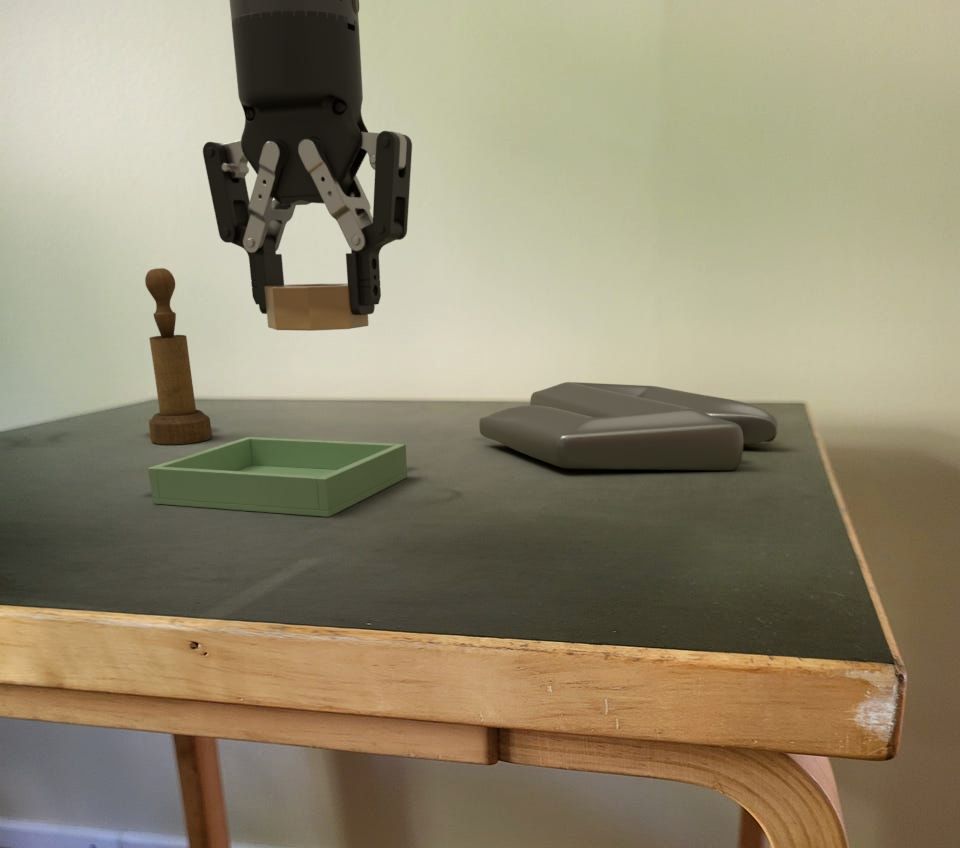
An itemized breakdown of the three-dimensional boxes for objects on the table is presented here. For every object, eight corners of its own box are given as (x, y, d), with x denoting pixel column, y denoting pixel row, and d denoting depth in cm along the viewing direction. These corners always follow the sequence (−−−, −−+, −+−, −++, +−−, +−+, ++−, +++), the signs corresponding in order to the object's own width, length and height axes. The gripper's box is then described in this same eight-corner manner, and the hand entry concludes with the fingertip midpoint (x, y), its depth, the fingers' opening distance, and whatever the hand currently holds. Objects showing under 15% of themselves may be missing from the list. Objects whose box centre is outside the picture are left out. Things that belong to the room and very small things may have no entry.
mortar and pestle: (170, 447, 105) (144, 269, 98) (140, 441, 109) (113, 269, 102) (223, 438, 109) (202, 267, 102) (192, 432, 113) (170, 267, 106)
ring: (252, 329, 63) (248, 287, 62) (302, 323, 68) (299, 283, 67) (336, 331, 61) (333, 287, 60) (381, 324, 66) (379, 283, 65)
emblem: (426, 405, 92) (567, 372, 114) (429, 461, 94) (567, 418, 116) (707, 426, 78) (808, 383, 99) (703, 491, 80) (803, 436, 101)
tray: (152, 503, 81) (147, 468, 79) (250, 468, 93) (247, 436, 92) (329, 517, 75) (325, 478, 74) (407, 477, 88) (405, 444, 86)
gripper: (156, 18, 57) (192, 317, 63) (373, -9, 52) (389, 318, 58) (231, 40, 64) (257, 310, 70) (431, 19, 58) (439, 311, 65)
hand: (317, 312), depth 64 cm, fingers closed on ring, 6 cm apart
